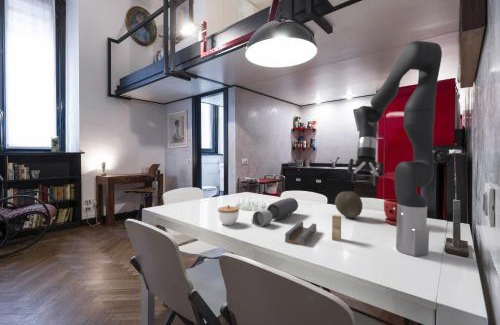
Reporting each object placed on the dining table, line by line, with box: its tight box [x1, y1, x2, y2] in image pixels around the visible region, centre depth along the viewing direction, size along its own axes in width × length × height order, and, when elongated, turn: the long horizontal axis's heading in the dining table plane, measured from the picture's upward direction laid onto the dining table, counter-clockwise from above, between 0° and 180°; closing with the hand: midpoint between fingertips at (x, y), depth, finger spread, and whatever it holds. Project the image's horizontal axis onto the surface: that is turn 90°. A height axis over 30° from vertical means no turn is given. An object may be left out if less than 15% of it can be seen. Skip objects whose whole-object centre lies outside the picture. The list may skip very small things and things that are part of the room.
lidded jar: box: [217, 204, 240, 226], centre depth 126 cm, size 11×11×9 cm
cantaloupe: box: [334, 190, 363, 219], centre depth 139 cm, size 14×14×15 cm
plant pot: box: [383, 199, 397, 227], centre depth 127 cm, size 13×13×12 cm
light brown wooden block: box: [331, 213, 342, 242], centre depth 104 cm, size 4×3×10 cm
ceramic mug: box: [250, 209, 274, 228], centre depth 125 cm, size 11×8×8 cm
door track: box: [284, 221, 318, 246], centre depth 107 cm, size 20×8×4 cm, turn 152°
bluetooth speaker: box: [266, 197, 299, 220], centre depth 140 cm, size 23×9×10 cm, turn 145°
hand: (364, 184), depth 108 cm, fingers open, 8 cm apart
